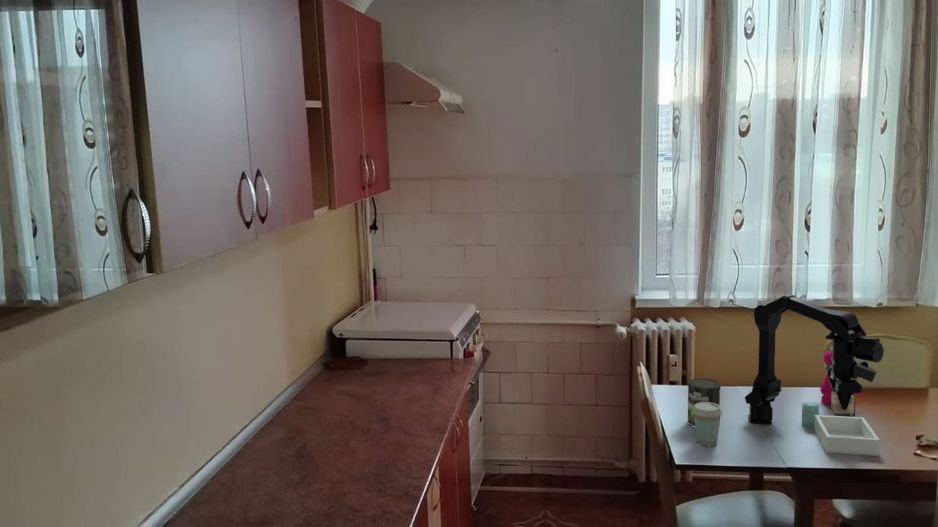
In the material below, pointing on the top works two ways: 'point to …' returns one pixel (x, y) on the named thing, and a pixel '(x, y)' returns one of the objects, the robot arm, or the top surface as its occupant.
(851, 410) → the beige rectangular block
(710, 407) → the coffee cup
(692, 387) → the coffee can
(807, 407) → the teal cylinder
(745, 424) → the top surface
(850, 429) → the tote
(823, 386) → the pepper mill
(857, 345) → the robot arm
